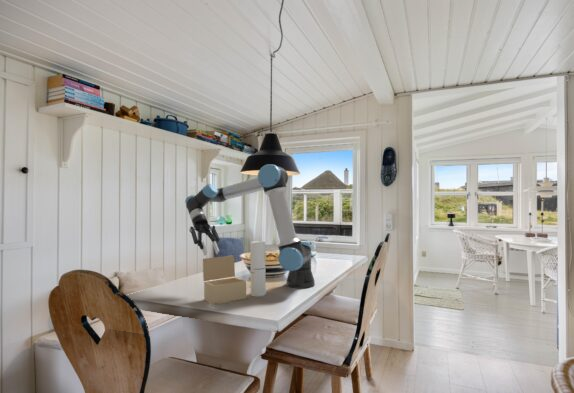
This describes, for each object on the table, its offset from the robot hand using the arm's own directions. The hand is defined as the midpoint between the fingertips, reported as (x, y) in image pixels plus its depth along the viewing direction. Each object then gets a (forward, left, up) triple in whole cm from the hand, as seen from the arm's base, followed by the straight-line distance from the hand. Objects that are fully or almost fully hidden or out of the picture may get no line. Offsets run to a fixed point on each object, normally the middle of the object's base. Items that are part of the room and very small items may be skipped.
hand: (211, 253), depth 161 cm
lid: (-7, +5, -6) cm, 11 cm away
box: (-12, +8, -19) cm, 24 cm away
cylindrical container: (-23, -3, -20) cm, 30 cm away
